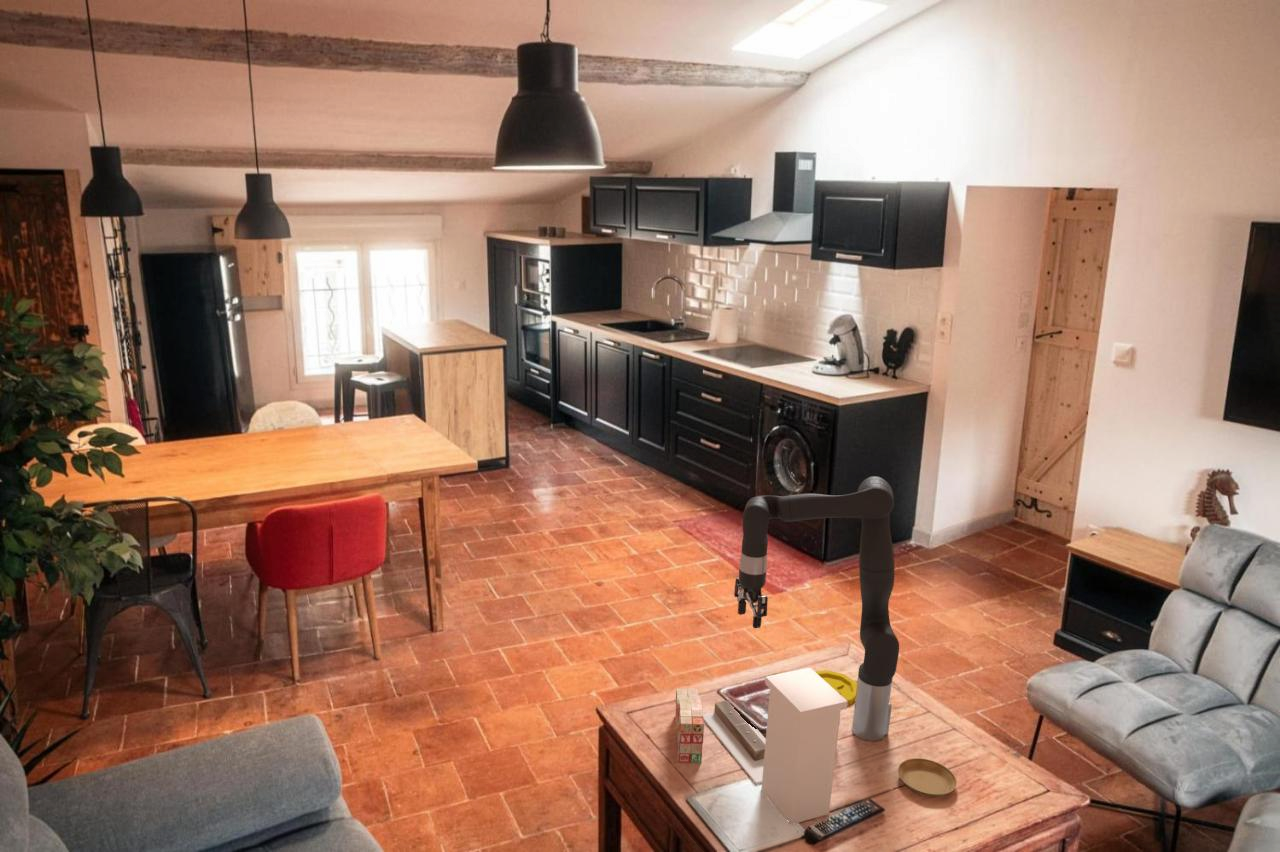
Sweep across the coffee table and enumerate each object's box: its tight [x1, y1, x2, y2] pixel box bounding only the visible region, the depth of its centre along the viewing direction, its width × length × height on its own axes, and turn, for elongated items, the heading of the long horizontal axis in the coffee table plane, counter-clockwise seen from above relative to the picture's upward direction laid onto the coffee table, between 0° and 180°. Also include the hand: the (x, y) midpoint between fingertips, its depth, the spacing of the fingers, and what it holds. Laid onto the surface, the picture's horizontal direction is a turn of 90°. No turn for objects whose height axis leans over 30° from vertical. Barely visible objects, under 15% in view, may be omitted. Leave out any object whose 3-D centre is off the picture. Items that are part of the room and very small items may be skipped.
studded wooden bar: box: [713, 700, 765, 761], centre depth 249 cm, size 4×24×3 cm, turn 22°
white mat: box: [703, 711, 766, 785], centre depth 246 cm, size 12×32×1 cm, turn 23°
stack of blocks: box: [675, 688, 705, 764], centre depth 246 cm, size 21×6×12 cm, turn 1°
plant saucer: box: [897, 757, 958, 798], centre depth 233 cm, size 15×15×3 cm
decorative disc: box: [814, 669, 857, 706], centre depth 274 cm, size 17×18×2 cm
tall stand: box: [761, 667, 848, 825], centre depth 220 cm, size 13×16×32 cm
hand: (748, 620), depth 252 cm, fingers open, 8 cm apart
